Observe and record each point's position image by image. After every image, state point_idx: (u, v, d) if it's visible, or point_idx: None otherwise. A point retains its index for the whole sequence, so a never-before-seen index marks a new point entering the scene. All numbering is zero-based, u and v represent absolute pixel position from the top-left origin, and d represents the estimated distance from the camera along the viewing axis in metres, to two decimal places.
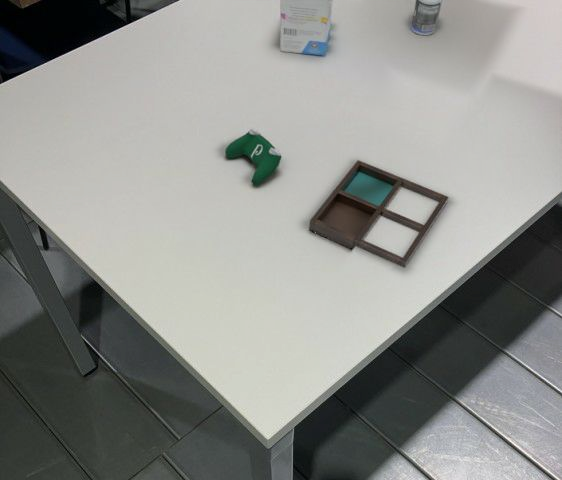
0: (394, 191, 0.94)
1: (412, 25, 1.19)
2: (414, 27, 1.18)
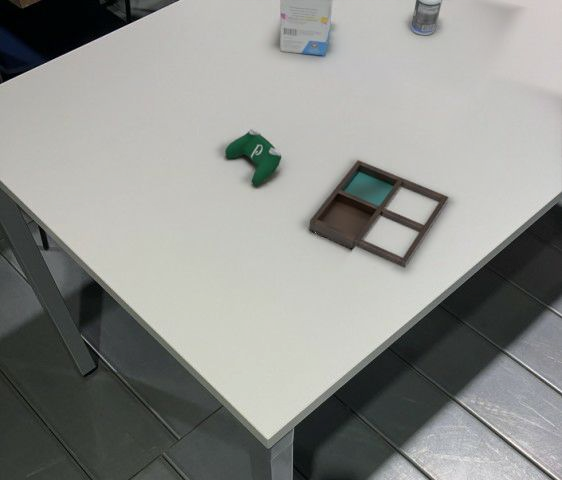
0: (394, 191, 0.94)
1: (412, 25, 1.19)
2: (414, 27, 1.18)
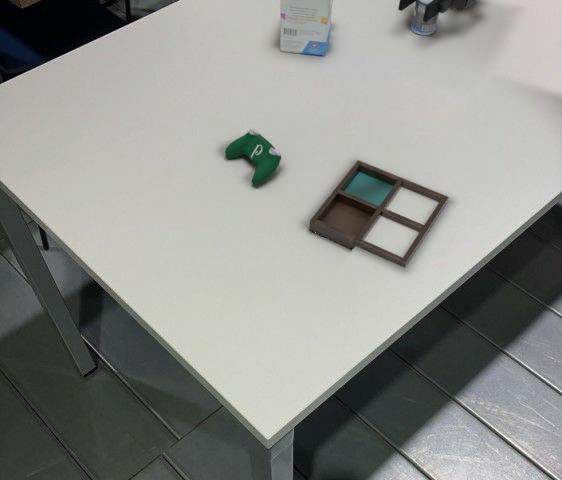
0: (394, 191, 0.94)
1: (412, 25, 1.19)
2: (414, 27, 1.18)
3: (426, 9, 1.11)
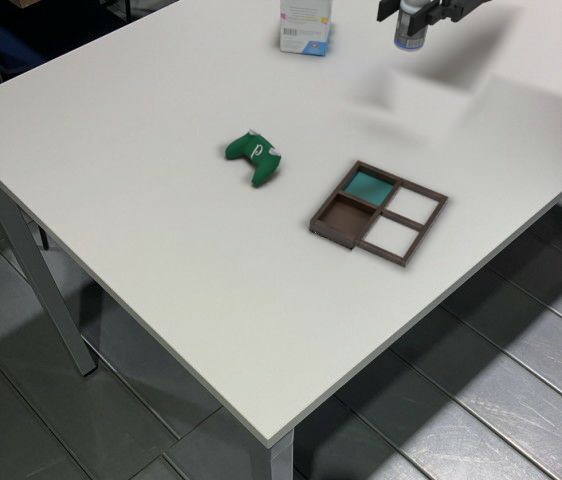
0: (394, 191, 0.94)
1: (395, 40, 0.95)
2: (397, 42, 0.95)
3: (411, 21, 0.88)
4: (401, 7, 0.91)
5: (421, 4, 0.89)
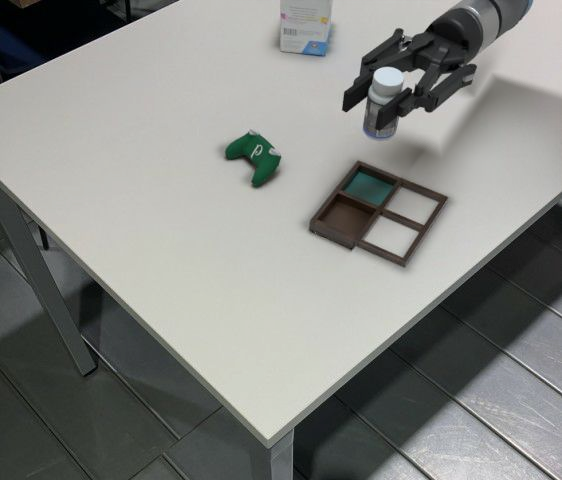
0: (394, 191, 0.94)
1: (364, 127, 0.86)
2: (366, 130, 0.86)
3: (379, 115, 0.78)
4: (369, 96, 0.82)
5: (391, 94, 0.80)
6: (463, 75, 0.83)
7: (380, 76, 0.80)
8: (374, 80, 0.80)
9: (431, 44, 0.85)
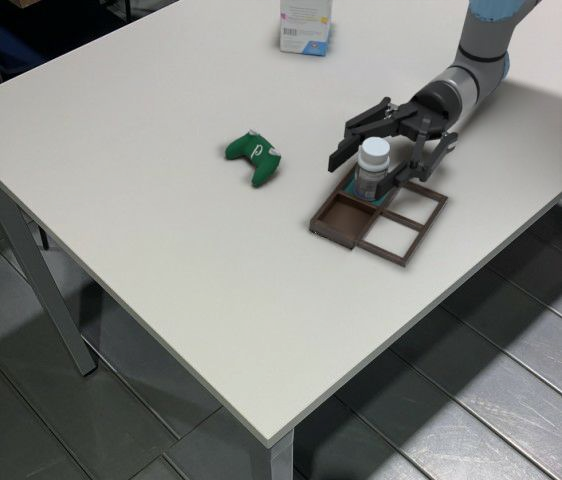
0: (394, 191, 0.94)
1: (354, 188, 0.94)
2: (356, 191, 0.94)
3: (377, 187, 0.86)
4: (358, 163, 0.90)
5: (378, 162, 0.88)
6: (448, 144, 0.91)
7: (368, 146, 0.88)
8: (362, 150, 0.88)
9: (414, 114, 0.94)
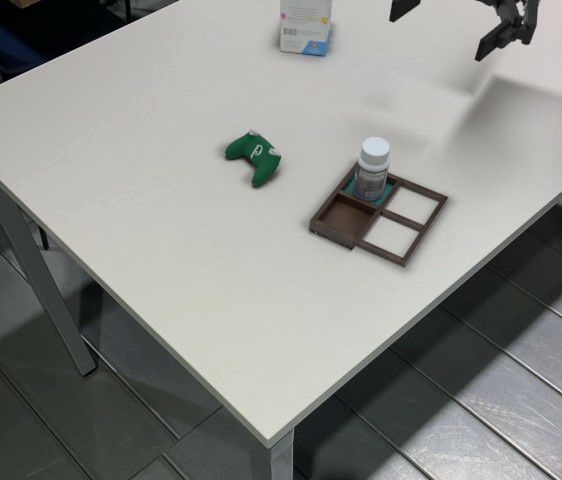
0: (394, 191, 0.94)
1: (354, 188, 0.94)
2: (356, 191, 0.94)
3: (480, 44, 0.78)
4: (358, 163, 0.90)
5: (378, 162, 0.88)
6: (537, 1, 0.84)
7: (368, 146, 0.88)
8: (362, 150, 0.88)
9: None
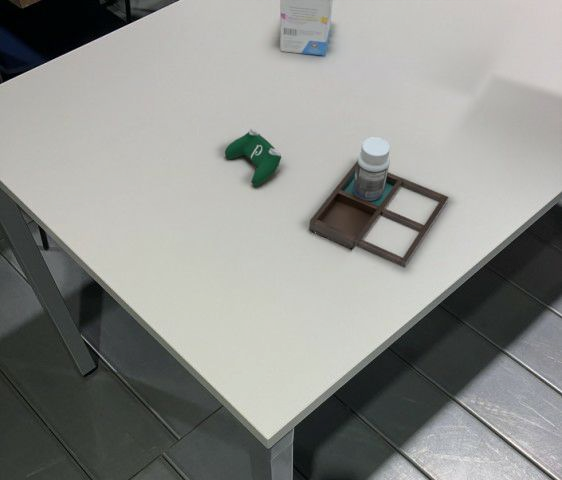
0: (394, 191, 0.94)
1: (354, 188, 0.94)
2: (356, 191, 0.94)
3: None
4: (358, 163, 0.90)
5: (378, 162, 0.88)
6: None
7: (368, 146, 0.88)
8: (362, 150, 0.88)
9: None
